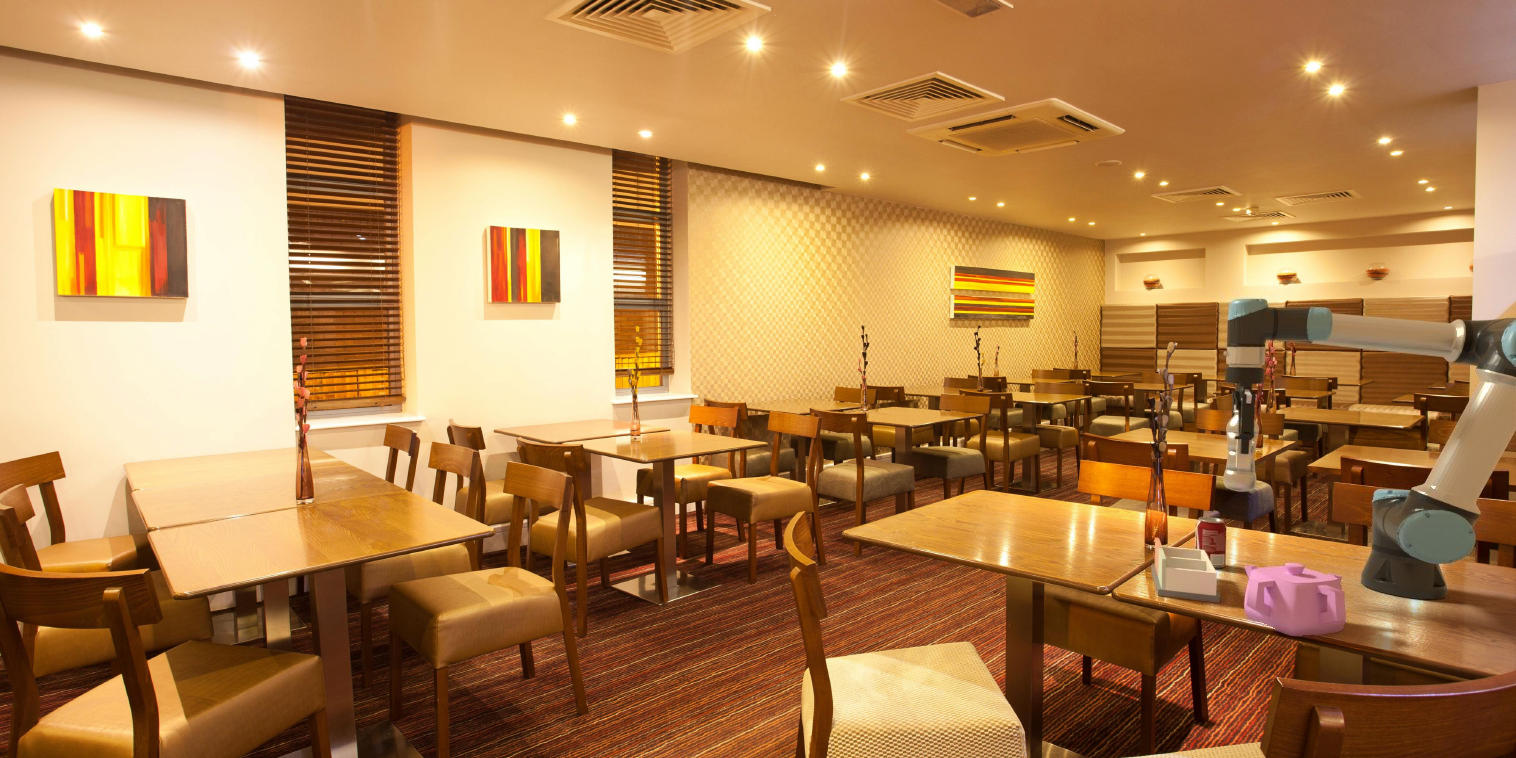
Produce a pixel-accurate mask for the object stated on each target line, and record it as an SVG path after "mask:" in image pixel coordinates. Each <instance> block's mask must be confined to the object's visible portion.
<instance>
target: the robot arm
mask: <svg viewBox="0 0 1516 758" xmlns="http://www.w3.org/2000/svg"><path fill="white" fill-rule="evenodd" d="M1226 321H1227V324H1226V325H1227V326H1226V327H1227V328H1226V330H1227V331H1226V332H1227V333H1226V334H1227V335H1226V350H1225V351H1223V356H1226V357H1225V358H1226V360H1225V361H1226V362H1225V364H1226V365H1228V366H1226V367H1225V372H1224V373H1225V374H1224V375H1225V376H1224V382H1225V383H1228V384H1229V383H1230V384H1235V390H1232V392H1231V398H1232V401H1231V404H1232V405H1231V418H1232V417H1233V416H1234V415H1235V413H1234V412H1233V410H1234V405H1236V410H1237V411H1238V435H1239V436H1235V439H1237V452H1236V468H1246V469H1250V464H1251V442H1252V438H1254V420H1255V412H1256V411H1255V410H1256V409H1255V408H1256V407H1255V406H1256V398H1257V395H1256V392H1255V391H1254V390H1253V385H1261V384H1263V383H1264V382H1265V368H1264V367H1262V366H1264V365H1265V363H1266V349H1267V348H1266V343H1267V341H1278V342H1282V343H1283V342H1284V343H1285V342H1289V343H1290V342H1291V343H1302V344H1314V345H1322V346H1323V345H1324V346H1332V347H1333V346H1334V347H1341V348H1342V347H1343V348H1353V349H1362V350H1363V349H1364V350H1372V351H1373V350H1374V351H1380V352H1381V351H1383V352H1389V353H1390V352H1392V353H1393V352H1394V353H1402V354H1410V355H1411V354H1412V355H1420V356H1421V355H1422V356H1432V357H1441V358H1444V359H1445V361H1446V362H1448V363H1455V364H1463V365H1469V366H1474V367H1476V368H1475V373H1476V374H1477V376H1478V378H1479V382H1478V384H1477V386H1476V387H1475V389H1474V391H1473V393H1472V395H1471V397H1470V398H1469V401H1468V403H1467V404H1466V406H1465V409H1464V410H1463V411H1462V414H1461V415H1460V417H1459V420H1458V421H1457V423H1456V424H1455V427H1454V429H1453V431H1452V432H1451V434H1450V435H1449V438H1448V439H1447V441H1446V443H1445V445H1444V447H1443V449H1442V451H1441V453H1440V454H1439V455H1438V458H1437V460H1436V461H1435V464H1434V465H1433V467H1432V469H1431V471H1430V473H1429V475H1428V477H1427V479H1426V480H1425V482H1424V483H1423V484H1420V485H1417V486H1414V487H1411V489H1410V490H1409V489H1396V488H1395V489H1392V488H1391V489H1390V488H1378V489H1376V490H1374V492H1373V498H1372V500H1371V504H1372V521H1371V522H1372V523H1371V525H1372V526H1371V551H1370V554H1369V556H1368V558H1367V560H1366V562H1365V564H1364V566H1363V569H1362V570H1361V573H1360V583H1361V584H1362V585H1363V586H1364V587H1366V588H1369V589H1371V590H1374V591H1376V592H1380V593H1383V594H1388V595H1392V596H1393V595H1394V596H1398V597H1402V598H1410V599H1420V600H1440V599H1444V598H1447V596H1448V585H1447V582H1446V580H1445V577H1444V573H1443V571H1442V569H1441V566H1440V565H1447V564H1452V563H1456V562H1459V561H1461V560H1463V559H1465V558H1466V557H1467V556H1468V555H1470V554H1471V552H1472V551H1473V549H1474V548H1475V544H1476V533H1475V529H1474V527H1475V524H1476V523H1477V521H1478V519H1479V518H1480V515H1481V510H1480V509H1479V507H1478V505H1477V501H1478V499H1479V497H1480V495H1481V493H1482V491H1483V489H1484V488H1485V487H1486V485H1487V482H1488V481H1489V478H1490V477H1491V475H1492V474H1493V472H1494V470H1495V468H1496V466H1497V465H1498V463H1499V461H1500V459H1501V458H1502V456H1503V454H1504V452H1505V450H1506V449H1507V447H1508V445H1509V443H1510V441H1511V440H1512V438H1513V436H1514V434H1515V433H1516V317H1506V318H1496V319H1494V318H1493V319H1483V320H1480V319H1479V320H1477V319H1476V320H1475V319H1474V320H1472V319H1471V320H1470V319H1469V320H1468V319H1455V320H1454V321H1452V322H1441V321H1438V322H1437V321H1426V320H1418V319H1417V320H1415V319H1403V318H1392V317H1391V318H1390V317H1379V316H1367V315H1356V314H1355V315H1354V314H1345V313H1333V312H1332V310H1330V308H1329V307H1328V308H1327V307H1318V306H1317V307H1316V306H1303V307H1302V306H1301V307H1300V306H1298V307H1294V306H1293V307H1271V306H1269V304H1268V300H1267V299H1266V298H1237V299H1233V300H1231V301H1230V302H1229V305H1228V316H1227V320H1226ZM1239 405H1240V406H1239ZM1231 418H1230V419H1231Z"/></svg>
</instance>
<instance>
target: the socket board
mask: <svg viewBox="0 0 1516 758" xmlns="http://www.w3.org/2000/svg"><path fill="white" fill-rule="evenodd" d="M1154 545H1155V546H1154V564H1151V569H1150V570H1151V574H1152V578H1153V581H1154V586H1155V590H1156V595H1157V597H1158V596H1159V597H1164V598H1174V599H1183V600H1190V601H1191V600H1192V601H1201V602H1210V603H1218V604H1220V602H1221V600H1220V598H1221V596H1220V594H1219V592H1218V589H1217V583H1218V582H1217V580H1218V579H1217V576H1218V575H1217V571H1216V569H1214V567H1213V565H1212V564H1211V562H1210V560H1209V558H1208V556H1207V554H1206V553H1205V551H1204V550H1198V549H1195V548H1185V547H1176V546H1175V547H1174V546H1163V545H1162V543H1161V540H1160V538H1159V537H1155V538H1154Z"/></svg>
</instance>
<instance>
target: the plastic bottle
mask: <svg viewBox="0 0 1516 758" xmlns="http://www.w3.org/2000/svg"><path fill="white" fill-rule="evenodd" d="M1239 406H1240V405H1239ZM1233 412H1234V413H1235V415H1234V416H1233V417H1232V416H1231V417H1232V418H1230V419H1229V421H1228V422H1227V424H1226V428H1225V430H1226V439H1227V440H1226V441H1227V459H1226V465H1225V469H1224V473H1223V476H1222V477H1223V478H1222V479H1223V481H1222V482H1223V485H1224V487H1225V488H1226V489H1229V490H1231V491H1235V492H1239V493H1240V492H1250V491H1253V490H1254V489H1255V488H1256V486H1257V474H1256V464H1255V462H1256V461H1255V455H1256V453H1255V452H1256V447H1257V441H1258V436H1259V432H1260V428H1259V424H1258V423H1257V421H1256V420H1255V419H1254V438H1252V442H1251V464H1250V469H1246V468H1236V452H1237V439H1235V436H1239V435H1238V411H1237V410H1236V405H1234V410H1233Z"/></svg>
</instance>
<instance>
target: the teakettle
mask: <svg viewBox="0 0 1516 758" xmlns="http://www.w3.org/2000/svg"><path fill="white" fill-rule="evenodd" d="M1284 564H1285V565H1279V566H1278V565H1277V566H1276V565H1275V566H1265V567H1257V565H1249V564H1248V565H1243V566H1244V570H1245V572H1246V575H1247V577H1248V581H1247V585H1246V589H1245V595H1244V603H1243V605H1244V607H1243V608H1244V613H1245V616H1246V618H1247V619H1248V618H1249V619H1248V620H1250V619H1252V620H1254V621H1257V622H1262V623H1264V624H1267V625H1269V626H1271V627H1273V628H1275V629H1276V630H1275V631H1276V632H1278V633H1282V634H1284V635H1287V636H1290V637H1304V636H1303V635H1314V636H1322V635H1323V636H1325V635H1329V633H1330V634H1334V633H1338V632H1339V631H1340V632H1341V630H1342V631H1343V630H1344V627H1345V624H1346V620H1347V614H1346V612H1347V611H1346V600H1345V591H1344V590H1343V589H1342V584H1341V581H1342V578H1343V577H1342V575H1339V574H1333V573H1328V574H1325V573H1323V572H1319V571H1316V570H1312V569H1310V568H1306V566H1305V565H1304V564H1301V563H1298V562H1286V563H1284ZM1252 620H1251V621H1252ZM1254 621H1253V622H1254Z"/></svg>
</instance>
